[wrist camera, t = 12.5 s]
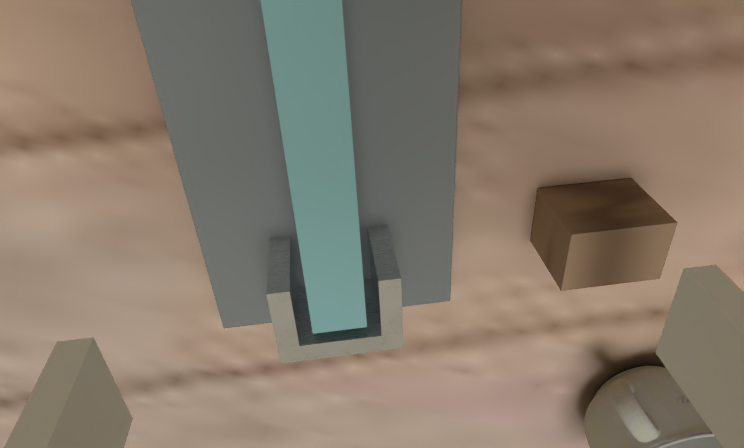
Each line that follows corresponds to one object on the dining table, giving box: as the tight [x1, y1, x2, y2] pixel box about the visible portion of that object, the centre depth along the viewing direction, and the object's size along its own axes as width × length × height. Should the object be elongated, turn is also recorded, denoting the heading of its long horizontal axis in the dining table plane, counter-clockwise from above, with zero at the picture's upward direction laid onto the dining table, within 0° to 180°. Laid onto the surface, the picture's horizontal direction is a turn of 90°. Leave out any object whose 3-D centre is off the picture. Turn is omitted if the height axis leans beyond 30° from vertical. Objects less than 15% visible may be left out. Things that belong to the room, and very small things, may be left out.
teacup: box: [584, 366, 723, 448], centre depth 43 cm, size 14×11×8 cm
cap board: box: [131, 0, 462, 328], centre depth 28 cm, size 15×31×1 cm, turn 3°
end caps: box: [266, 225, 403, 363], centre depth 26 cm, size 7×28×5 cm, turn 3°
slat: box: [261, 0, 367, 334], centre depth 25 cm, size 3×24×5 cm, turn 3°
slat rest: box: [530, 178, 677, 291], centre depth 27 cm, size 6×24×5 cm, turn 3°
